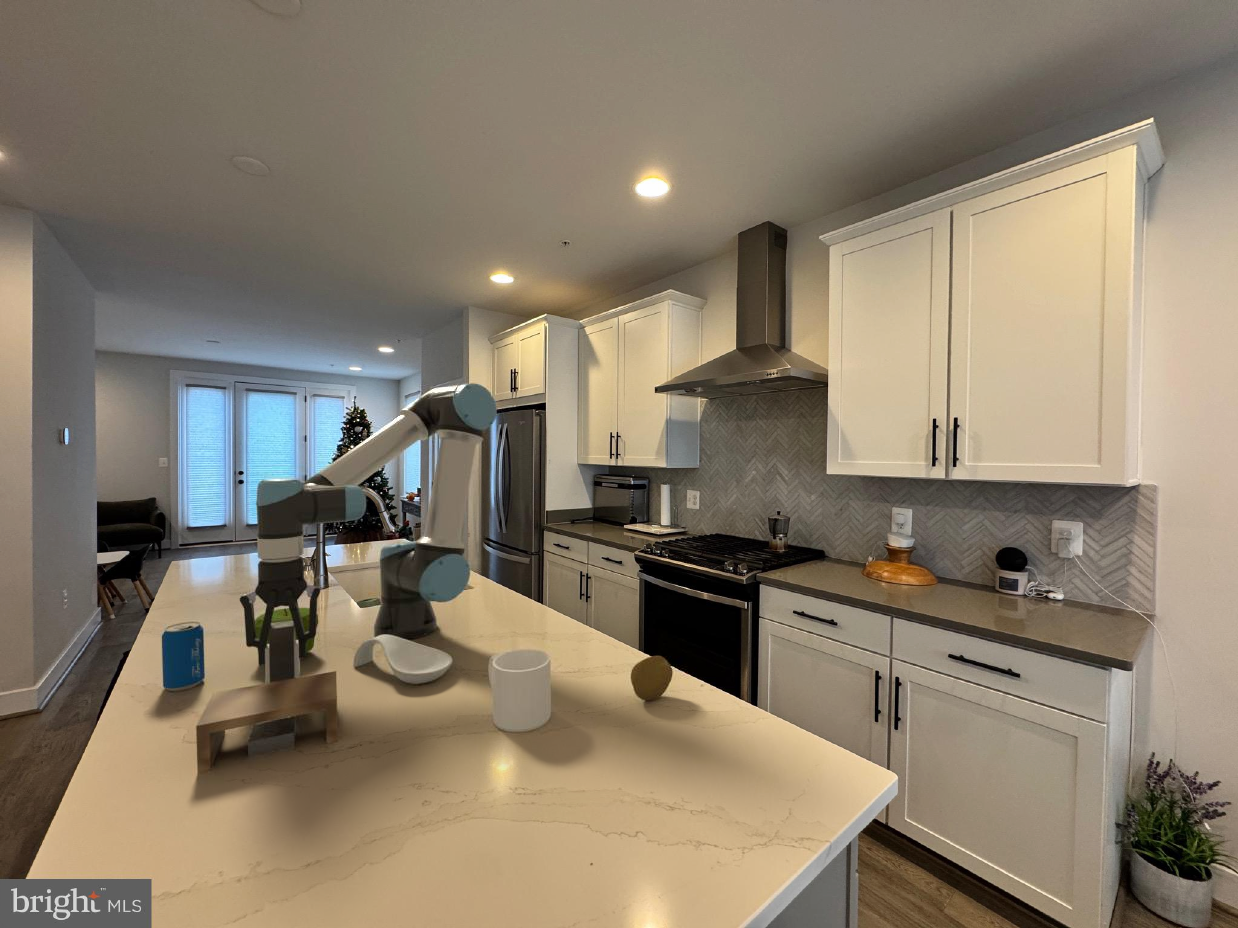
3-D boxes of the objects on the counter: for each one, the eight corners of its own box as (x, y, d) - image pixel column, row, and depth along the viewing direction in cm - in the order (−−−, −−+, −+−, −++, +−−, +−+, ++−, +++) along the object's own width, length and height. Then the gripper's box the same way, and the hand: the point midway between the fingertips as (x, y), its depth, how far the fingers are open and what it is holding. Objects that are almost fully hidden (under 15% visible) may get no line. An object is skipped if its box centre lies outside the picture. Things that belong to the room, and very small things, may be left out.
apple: (257, 673, 112) (256, 620, 112) (249, 656, 121) (248, 607, 121) (323, 658, 120) (323, 608, 120) (311, 643, 130) (310, 597, 129)
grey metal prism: (299, 678, 107) (298, 619, 107) (290, 723, 89) (289, 652, 89) (269, 683, 105) (268, 623, 104) (254, 731, 87) (253, 658, 86)
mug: (562, 713, 95) (562, 656, 94) (523, 739, 86) (522, 676, 86) (511, 695, 101) (510, 642, 101) (470, 718, 93) (469, 660, 93)
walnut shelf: (337, 708, 96) (336, 670, 96) (337, 740, 86) (336, 697, 86) (214, 734, 88) (212, 692, 88) (197, 773, 77) (196, 725, 77)
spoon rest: (464, 672, 113) (463, 639, 112) (422, 696, 102) (422, 659, 102) (382, 655, 122) (381, 624, 122) (336, 675, 112) (336, 641, 111)
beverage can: (181, 693, 103) (179, 632, 103) (154, 691, 104) (152, 630, 104) (212, 679, 109) (211, 621, 109) (187, 677, 110) (185, 619, 110)
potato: (626, 705, 97) (626, 662, 97) (639, 687, 105) (639, 647, 104) (663, 711, 95) (663, 667, 95) (673, 693, 102) (673, 651, 102)
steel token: (296, 730, 90) (296, 715, 89) (293, 747, 84) (293, 732, 84) (254, 739, 87) (253, 724, 87) (248, 758, 81) (247, 742, 81)
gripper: (331, 550, 111) (333, 662, 111) (230, 558, 103) (233, 678, 103) (330, 557, 104) (332, 675, 104) (223, 566, 96) (225, 694, 97)
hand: (283, 676), depth 104 cm, fingers closed on grey metal prism, 4 cm apart
